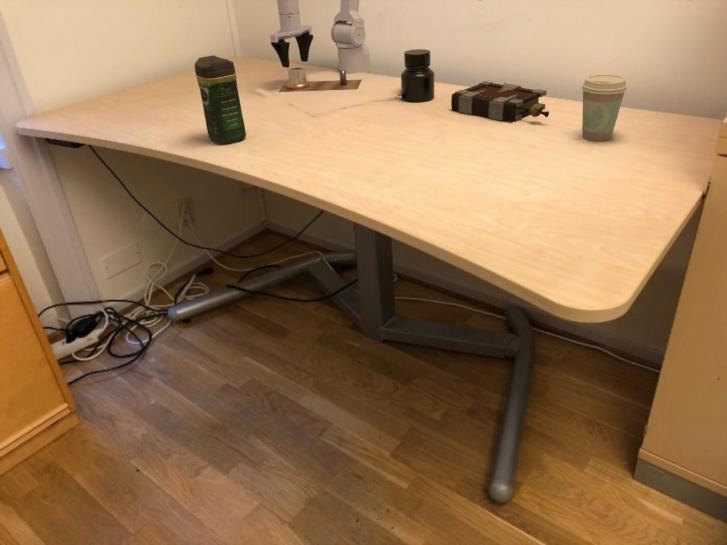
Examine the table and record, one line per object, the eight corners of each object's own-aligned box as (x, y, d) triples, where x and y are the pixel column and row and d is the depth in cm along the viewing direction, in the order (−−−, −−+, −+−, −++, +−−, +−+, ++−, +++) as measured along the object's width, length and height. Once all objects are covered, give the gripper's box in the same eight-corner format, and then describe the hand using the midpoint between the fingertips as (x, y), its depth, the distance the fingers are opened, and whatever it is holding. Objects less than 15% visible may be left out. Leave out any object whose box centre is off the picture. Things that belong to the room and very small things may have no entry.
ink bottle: (437, 93, 161) (437, 47, 155) (434, 102, 154) (434, 54, 147) (402, 94, 163) (400, 48, 157) (398, 103, 155) (396, 56, 149)
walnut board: (362, 84, 175) (361, 79, 174) (357, 94, 165) (357, 89, 165) (287, 87, 178) (286, 82, 177) (278, 97, 168) (277, 92, 167)
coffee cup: (566, 135, 126) (573, 78, 120) (598, 127, 129) (606, 71, 122) (595, 146, 119) (603, 86, 113) (627, 138, 122) (638, 79, 116)
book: (484, 98, 155) (485, 79, 152) (571, 114, 139) (574, 92, 136) (449, 112, 147) (450, 92, 144) (538, 130, 131) (540, 108, 128)
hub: (303, 82, 175) (301, 65, 173) (313, 86, 170) (311, 69, 168) (282, 86, 173) (280, 69, 170) (291, 90, 168) (289, 73, 165)
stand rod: (344, 83, 171) (343, 69, 169) (347, 84, 169) (346, 70, 167) (339, 84, 170) (338, 70, 168) (342, 85, 169) (341, 71, 167)
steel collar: (302, 80, 174) (300, 66, 172) (309, 83, 170) (308, 68, 168) (286, 83, 172) (285, 69, 170) (293, 86, 168) (292, 71, 166)
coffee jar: (251, 139, 137) (238, 56, 128) (220, 147, 134) (203, 63, 124) (234, 130, 144) (220, 51, 135) (204, 137, 141) (187, 57, 131)
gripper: (297, 8, 168) (303, 57, 175) (259, 16, 159) (267, 68, 166) (315, 9, 164) (320, 59, 171) (277, 17, 155) (284, 70, 162)
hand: (295, 64), depth 168 cm, fingers open, 7 cm apart
